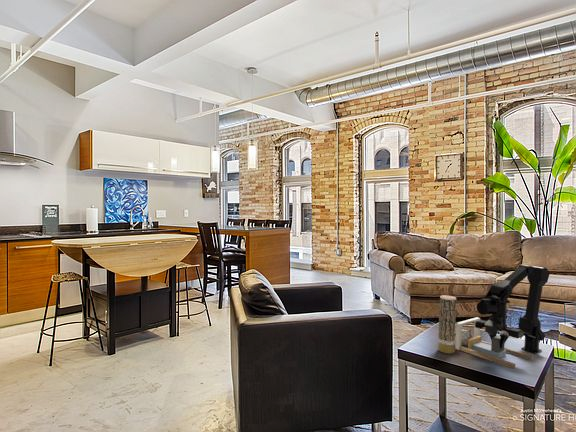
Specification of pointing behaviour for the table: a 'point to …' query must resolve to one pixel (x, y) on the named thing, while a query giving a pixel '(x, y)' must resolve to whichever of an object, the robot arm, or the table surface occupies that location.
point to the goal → (459, 331)
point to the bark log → (447, 324)
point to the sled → (487, 346)
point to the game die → (465, 337)
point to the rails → (497, 358)
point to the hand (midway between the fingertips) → (497, 347)
